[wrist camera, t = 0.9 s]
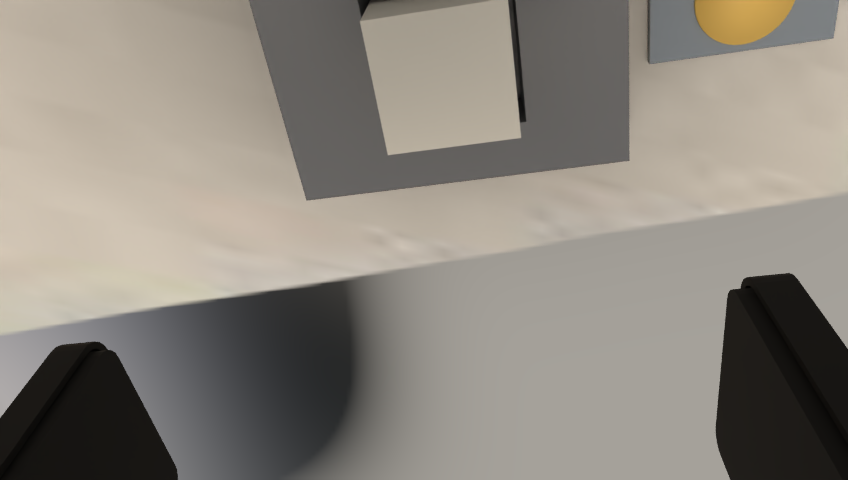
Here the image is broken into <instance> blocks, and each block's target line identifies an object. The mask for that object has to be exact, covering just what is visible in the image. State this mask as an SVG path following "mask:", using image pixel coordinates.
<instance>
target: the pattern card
mask: <svg viewBox="0 0 848 480" xmlns="http://www.w3.org/2000/svg"><path fill="white" fill-rule="evenodd" d="M838 5H839V0H649V2H648V62H649V64H654V63H661V62H668V61H676V60H683V59H690V58H697V57H704V56H711V55H718V54H725V53H732V52H740V51H747V50H754V49H761V48H768V47H775V46H782V45H789V44H796V43H804V42H811V41H818V40H825V39H832V38H834V31H835V25H836V18H837V11H838Z"/></svg>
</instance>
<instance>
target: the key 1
mask: <svg viewBox="0 0 848 480" xmlns="http://www.w3.org/2000/svg"><path fill="white" fill-rule="evenodd" d="M360 25H361V29H362V34H363V39H364V44H365V49H366V53H367V58H368V63H369V68H370V72H371V77H372V82H373V87H374V92H375V96H376V101H377V106H378V111H379V115H380V120H381V125H382V130H383V135H384V139H385V144H386V149H387V154H388V155H394V154H402V153H409V152H417V151H425V150H432V149H440V148H448V147H455V146H463V145H471V144H478V143H486V142H494V141H501V140H509V139H517V138H521V131H520V120H519V110H518V99H517V89H516V78H515V68H514V57H513V47H512V37H511V26H510V16H509V5H508V0H370V2H369V4H368V6H367V8H366V10H365V12H364V14H363V16H362V18H361V20H360Z"/></svg>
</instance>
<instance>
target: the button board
mask: <svg viewBox="0 0 848 480" xmlns="http://www.w3.org/2000/svg"><path fill="white" fill-rule="evenodd" d="M249 2H250V6H251V9H252V13H253V16H254V20H255V23H256V27H257V30H258V34H259V37H260V40H261V44H262V47H263V51H264V54H265V58H266V61H267V65H268V68H269V72H270V75H271V79H272V82H273V86H274V89H275V92H276V96H277V99H278V103H279V106H280V110H281V113H282V117H283V120H284V124H285V127H286V131H287V134H288V138H289V141H290V144H291V148H292V151H293V155H294V158H295V162H296V165H297V169H298V172H299V176H300V179H301V183H302V186H303V190H304V193H305V196H306V200H315V199H323V198H331V197H339V196H347V195H355V194H363V193H372V192H380V191H388V190H396V189H404V188H412V187H420V186H428V185H436V184H444V183H453V182H461V181H469V180H477V179H485V178H493V177H501V176H509V175H517V174H526V173H534V172H542V171H550V170H558V169H566V168H574V167H582V166H590V165H598V164H607V163H615V162H623V161H629V24H628V0H508V5H509V16H510V26H511V37H512V47H513V57H514V68H515V78H516V89H517V99H518V110H519V120H520V131H521V138H517V139H509V140H501V141H494V142H486V143H478V144H471V145H463V146H455V147H448V148H440V149H432V150H425V151H417V152H409V153H402V154H394V155H388V154H387V149H386V144H385V139H384V135H383V130H382V125H381V120H380V115H379V111H378V106H377V101H376V96H375V92H374V87H373V82H372V77H371V72H370V68H369V63H368V58H367V53H366V49H365V44H364V39H363V34H362V29H361V25H360V20H361V18H362V16H363V14H364V12H365V10H366V8H367V6H368V4H369V2H370V0H249Z"/></svg>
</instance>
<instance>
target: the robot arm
mask: <svg viewBox="0 0 848 480" xmlns="http://www.w3.org/2000/svg"><path fill="white" fill-rule="evenodd" d="M716 438H717V444H718V448H719V452H720V455H721V457H722V460H723V462H724V465H725V467H726V470H727V472H728V475H729V477H730V480H848V349H847V348H846V346H845V344H844V343H843V342H842V341H841V339H840V338H839V336H838V335H837V333H836V332H835V331H834V329H833V328H832V326H831V325H830V324H829V322H828V321H827V319H826V318H825V317H824V315H823V314H822V313H821V311H820V310H819V308H818V307H817V306H816V304H815V303H814V301H813V300H812V299H811V297H810V296H809V294H808V293H807V292H806V290H805V289H804V287H803V286H802V285H801V283H800V282H799V281H798V279H797V278H796V277H795V276H794V275H793V274H790V273H786V274H775V275H765V276H755V277H747V278H745V279H744V280H743V282H742V284H741V289H733V290H730V291H729V293H728V298H727V307H726V319H725V330H724V341H723V352H722V363H721V374H720V386H719V396H718V408H717V420H716ZM0 480H178V474H177V469H176V466H175V464H174V462H173V460H172V458H171V456H170V454H169V452H168V451H167V449H166V447H165V445H164V443H163V441H162V439H161V437H160V436H159V433H158V432H157V430H156V428H155V426H154V424H153V423H152V420H151V418H150V416H149V415H148V413H147V411H146V409H145V407H144V405H143V403H142V401H141V399H140V397H139V396H138V394H137V392H136V390H135V388H134V386H133V384H132V382H131V380H130V378H129V376H128V375H127V373H126V371H125V369H124V367H123V365H122V363H121V361H120V359H119V358H118V356H117V355H116V353H115V352H113V351H111V350H107V348H106V347H105V346H104V345H103V344H101V343H100V342H86V343H76V344H66V345H60V346H58V347H56V348H55V349H54V350H53V351H52V352H51V353H50V354H49V355H48V357H47V358H46V359H45V361H44V362H43V363H42V365H41V366H40V367H39V368H38V370H37V371H36V372H35V374H34V375H33V376H32V377H31V379H30V380H29V381H28V383H27V384H26V385H25V387H24V388H23V389H22V391H21V392H20V393H19V394H18V396H17V397H16V398H15V400H14V401H13V402H12V403H11V405H10V406H9V407H8V409H7V410H6V411H5V413H4V414H3V415H2V416H1V418H0Z"/></svg>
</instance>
